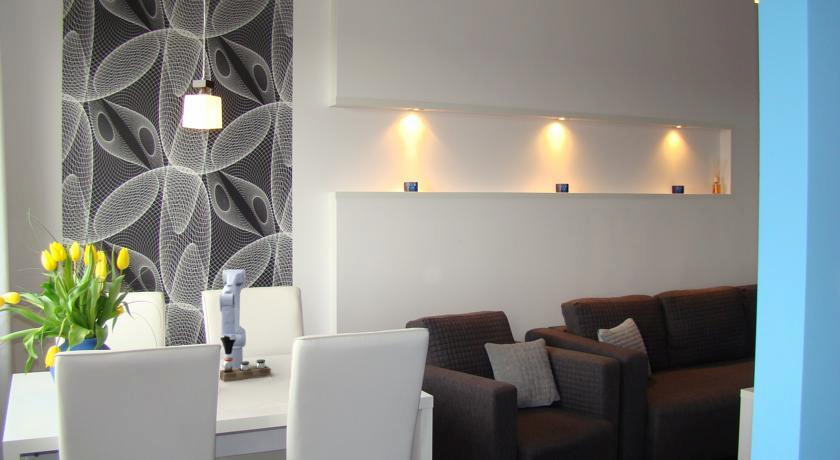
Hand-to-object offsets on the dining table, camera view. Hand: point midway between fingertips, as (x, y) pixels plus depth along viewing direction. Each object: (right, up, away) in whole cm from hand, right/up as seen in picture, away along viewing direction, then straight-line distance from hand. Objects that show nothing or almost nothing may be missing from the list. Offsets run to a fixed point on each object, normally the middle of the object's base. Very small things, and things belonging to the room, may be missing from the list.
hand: (228, 354), depth 306 cm
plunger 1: (+6, -10, +4) cm, 12 cm away
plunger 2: (+12, -10, +8) cm, 17 cm away
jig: (+6, -10, +4) cm, 13 cm away
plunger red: (0, -7, 0) cm, 7 cm away
